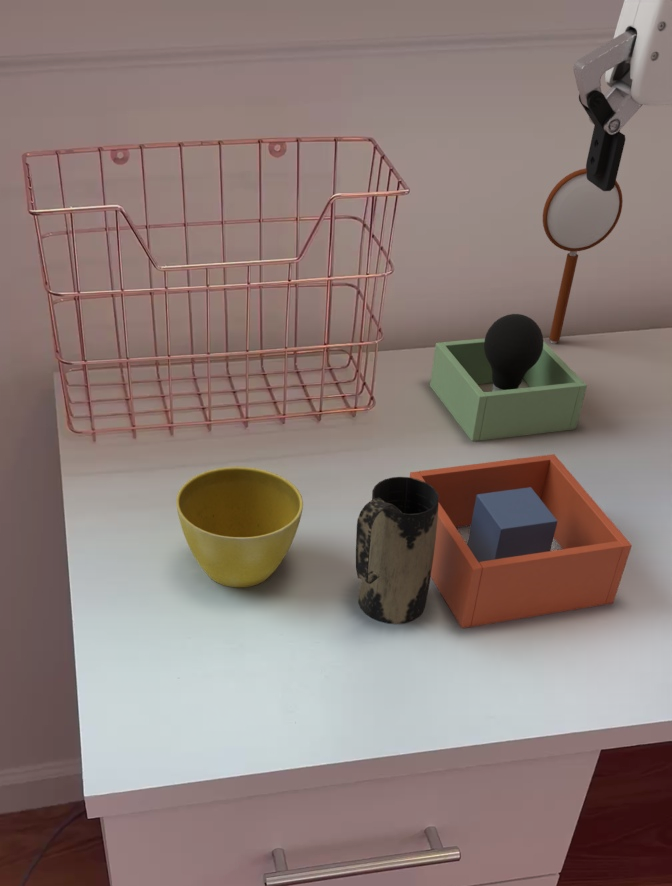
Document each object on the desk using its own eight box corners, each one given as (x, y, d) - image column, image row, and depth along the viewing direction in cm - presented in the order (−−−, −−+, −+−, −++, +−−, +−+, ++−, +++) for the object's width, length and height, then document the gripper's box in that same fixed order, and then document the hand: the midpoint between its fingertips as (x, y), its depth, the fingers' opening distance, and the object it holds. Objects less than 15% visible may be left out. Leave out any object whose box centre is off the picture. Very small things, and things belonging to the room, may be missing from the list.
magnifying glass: (585, 343, 122) (628, 165, 108) (590, 350, 120) (634, 171, 107) (514, 344, 120) (549, 165, 107) (518, 351, 119) (554, 171, 106)
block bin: (539, 515, 95) (554, 453, 90) (611, 608, 85) (632, 545, 81) (401, 535, 91) (409, 471, 87) (460, 634, 82) (473, 569, 77)
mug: (385, 576, 87) (400, 454, 79) (439, 606, 84) (460, 482, 76) (325, 621, 82) (335, 497, 74) (380, 654, 80) (396, 528, 72)
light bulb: (536, 402, 109) (556, 313, 102) (518, 427, 105) (538, 335, 99) (484, 388, 111) (500, 299, 104) (465, 411, 107) (480, 320, 100)
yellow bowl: (279, 527, 91) (281, 458, 87) (315, 598, 84) (320, 527, 80) (167, 545, 89) (163, 475, 84) (195, 619, 82) (193, 547, 77)
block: (518, 544, 90) (531, 486, 86) (543, 579, 87) (558, 520, 83) (465, 551, 89) (476, 494, 85) (488, 587, 86) (501, 529, 82)
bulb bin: (526, 380, 114) (536, 333, 110) (574, 434, 106) (587, 385, 102) (428, 390, 111) (435, 342, 107) (471, 447, 103) (479, 396, 99)
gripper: (801, -95, 72) (723, 161, 84) (581, -99, 68) (532, 171, 80) (871, -77, 67) (779, 193, 79) (638, -80, 63) (577, 205, 75)
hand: (654, 181), depth 79 cm, fingers open, 9 cm apart
